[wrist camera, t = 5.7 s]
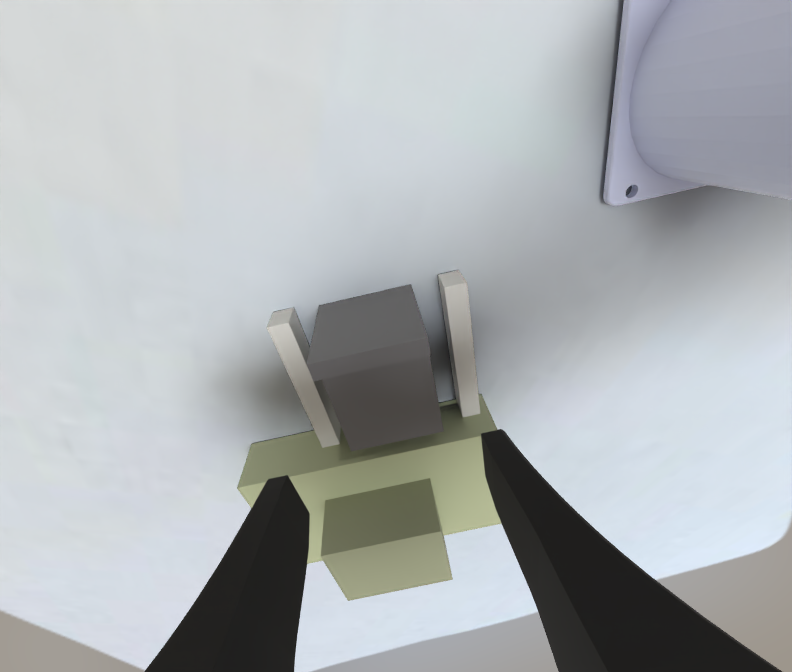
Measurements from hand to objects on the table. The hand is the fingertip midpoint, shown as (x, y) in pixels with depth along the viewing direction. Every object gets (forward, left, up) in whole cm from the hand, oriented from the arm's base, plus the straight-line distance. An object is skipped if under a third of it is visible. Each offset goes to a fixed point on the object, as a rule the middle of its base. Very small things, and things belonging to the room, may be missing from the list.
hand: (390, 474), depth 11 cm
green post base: (+2, +6, -8) cm, 10 cm away
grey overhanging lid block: (0, +1, -9) cm, 9 cm away
